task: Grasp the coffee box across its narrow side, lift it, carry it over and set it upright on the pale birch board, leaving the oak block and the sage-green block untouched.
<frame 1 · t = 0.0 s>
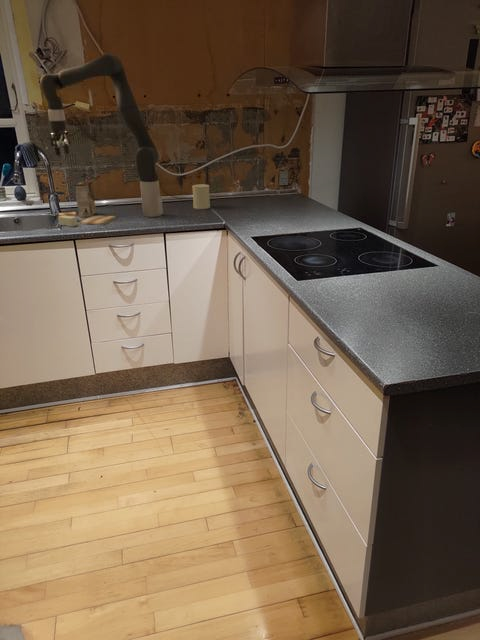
hand: (62, 154, 245), 29 cm above the worktop, fingers open, 8 cm apart
can: (201, 207, 265), on the worktop
sage block: (68, 225, 233), on the worktop
coffee box: (87, 215, 252), on the worktop
birch board: (98, 221, 239), on the worktop
oak block: (68, 221, 240), on the worktop
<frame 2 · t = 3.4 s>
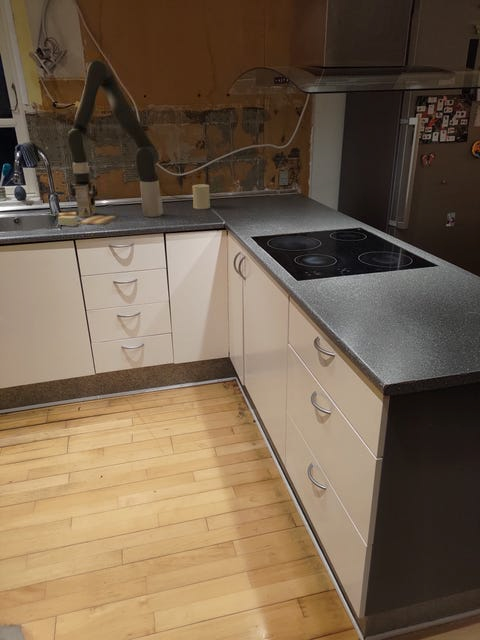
hand: (86, 204, 250), 5 cm above the worktop, fingers closed on coffee box, 7 cm apart
coffee box: (87, 215, 252), on the worktop, touching gripper
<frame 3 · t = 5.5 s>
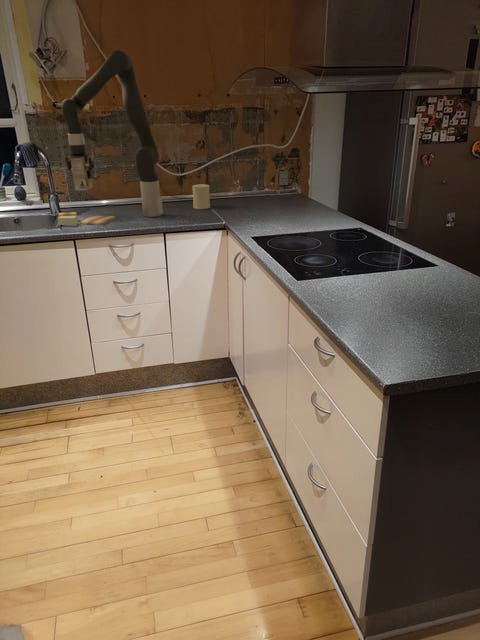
hand: (82, 178, 244), 18 cm above the worktop, fingers closed on coffee box, 7 cm apart
coffee box: (84, 189, 246), point 13 cm above the worktop, touching gripper
everything else where it was.
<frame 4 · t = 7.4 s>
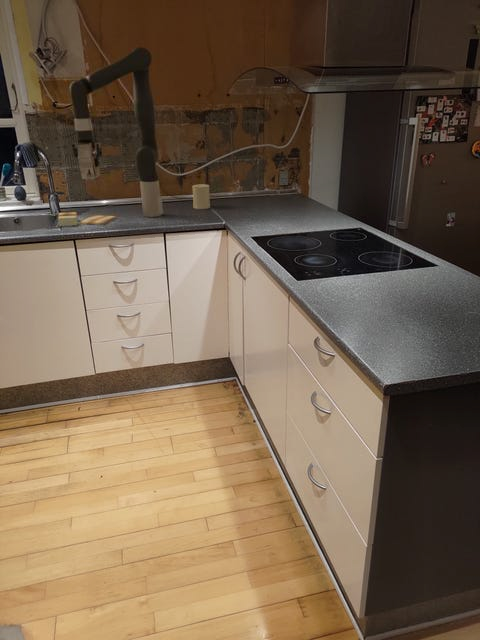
hand: (89, 166, 230), 25 cm above the worktop, fingers closed on coffee box, 7 cm apart
coffee box: (91, 178, 232), point 20 cm above the worktop, touching gripper
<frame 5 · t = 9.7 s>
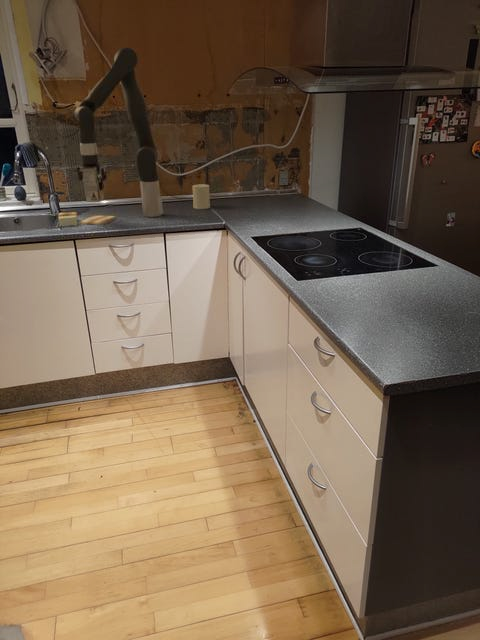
hand: (94, 189, 233), 15 cm above the worktop, fingers closed on coffee box, 7 cm apart
coffee box: (95, 200, 235), point 10 cm above the worktop, touching gripper
when the fingers open (7 cm above the worktop, at t = 11.8 s): coffee box drops 1 cm, resting on birch board.
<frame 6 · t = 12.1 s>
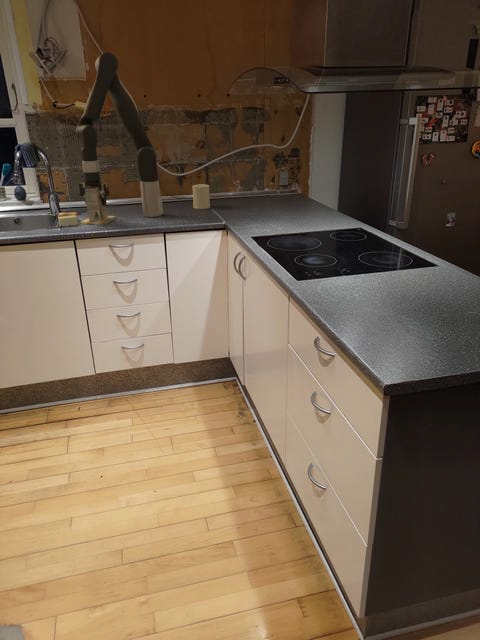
hand: (96, 205, 236), 8 cm above the worktop, fingers open, 8 cm apart
coffee box: (98, 219, 238), point 1 cm above the worktop, touching birch board
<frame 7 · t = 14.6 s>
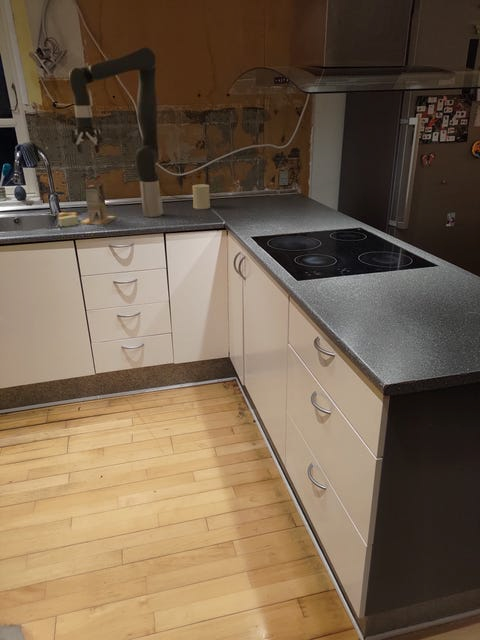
hand: (89, 152, 232), 31 cm above the worktop, fingers open, 8 cm apart
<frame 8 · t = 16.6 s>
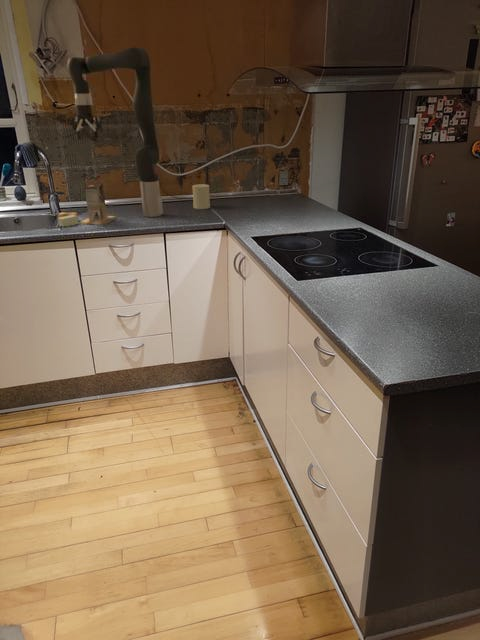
hand: (88, 139, 243), 36 cm above the worktop, fingers open, 8 cm apart
at the end: coffee box inside the target area on the birch board (0.1 cm from its centre), point 0.8 cm above the birch board's base; coffee box tilted 0°; oak block moved 0.2 cm from its start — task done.
